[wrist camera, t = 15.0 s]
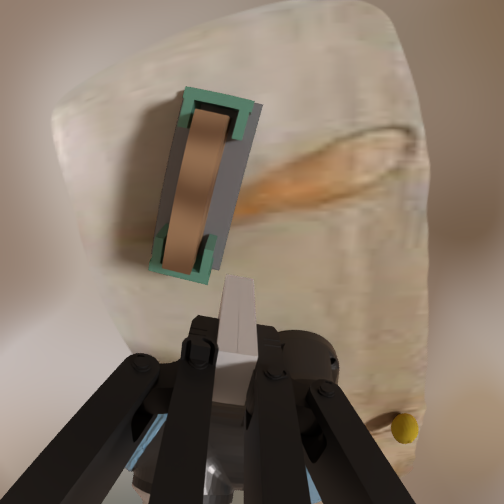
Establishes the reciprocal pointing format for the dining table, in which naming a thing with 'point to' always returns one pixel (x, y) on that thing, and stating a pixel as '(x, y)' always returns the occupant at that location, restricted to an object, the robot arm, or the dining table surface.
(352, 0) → the dining table surface
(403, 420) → the lemon
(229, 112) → the cradle
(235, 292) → the robot arm
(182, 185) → the slat
